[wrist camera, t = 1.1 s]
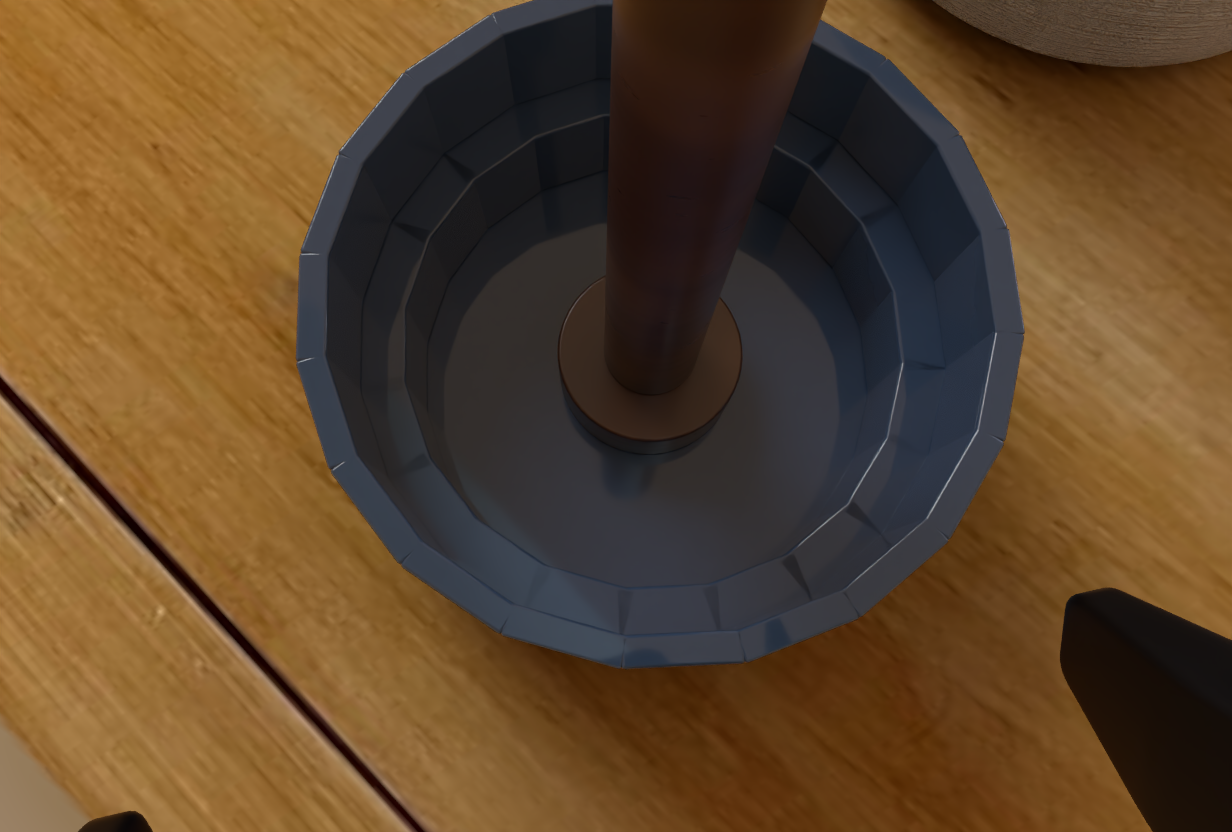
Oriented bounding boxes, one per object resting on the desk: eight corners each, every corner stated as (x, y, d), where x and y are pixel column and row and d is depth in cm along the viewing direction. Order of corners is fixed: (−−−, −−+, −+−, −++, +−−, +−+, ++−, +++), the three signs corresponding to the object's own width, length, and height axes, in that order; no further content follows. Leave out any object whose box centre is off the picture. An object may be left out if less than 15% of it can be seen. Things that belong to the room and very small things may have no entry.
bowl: (1013, 304, 25) (1143, 202, 19) (734, 778, 22) (784, 831, 16) (571, 41, 26) (564, -130, 20) (256, 450, 23) (143, 389, 18)
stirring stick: (765, 346, 24) (1070, -173, 8) (672, 488, 23) (826, 195, 8) (621, 257, 24) (664, -387, 9) (525, 392, 23) (391, -64, 8)
